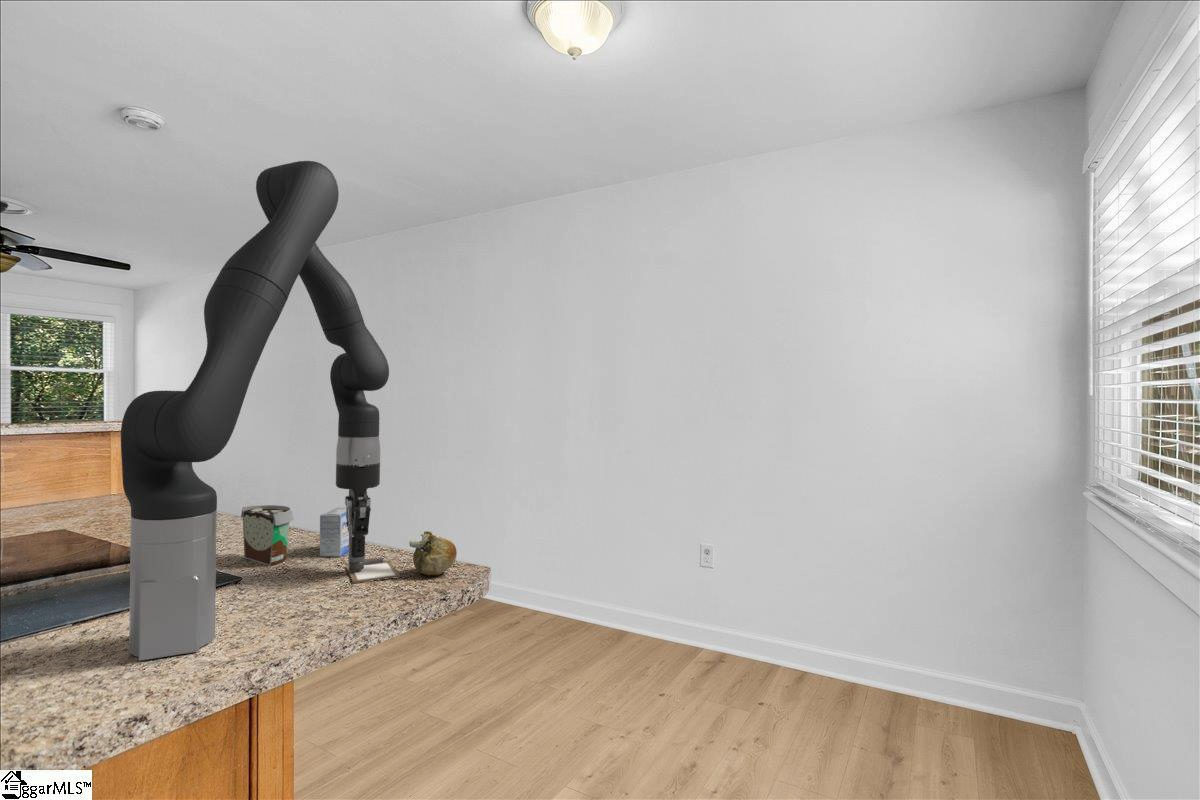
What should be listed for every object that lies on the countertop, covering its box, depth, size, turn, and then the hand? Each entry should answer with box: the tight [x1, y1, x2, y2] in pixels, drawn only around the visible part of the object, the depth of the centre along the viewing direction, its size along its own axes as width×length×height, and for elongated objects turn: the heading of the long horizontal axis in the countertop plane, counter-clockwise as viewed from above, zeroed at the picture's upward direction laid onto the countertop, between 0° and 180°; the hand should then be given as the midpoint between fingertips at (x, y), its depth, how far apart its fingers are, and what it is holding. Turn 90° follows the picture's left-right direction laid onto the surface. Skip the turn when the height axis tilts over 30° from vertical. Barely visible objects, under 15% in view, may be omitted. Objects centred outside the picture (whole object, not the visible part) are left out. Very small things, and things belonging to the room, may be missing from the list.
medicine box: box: [319, 506, 349, 558], centre depth 125 cm, size 8×4×9 cm, turn 179°
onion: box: [408, 530, 457, 576], centre depth 112 cm, size 8×8×8 cm
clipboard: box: [345, 557, 402, 584], centre depth 112 cm, size 11×8×1 cm
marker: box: [347, 518, 366, 570], centre depth 111 cm, size 3×3×12 cm
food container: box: [240, 504, 294, 567], centre depth 119 cm, size 12×6×10 cm, turn 58°
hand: (356, 554), depth 111 cm, fingers closed on marker, 2 cm apart
